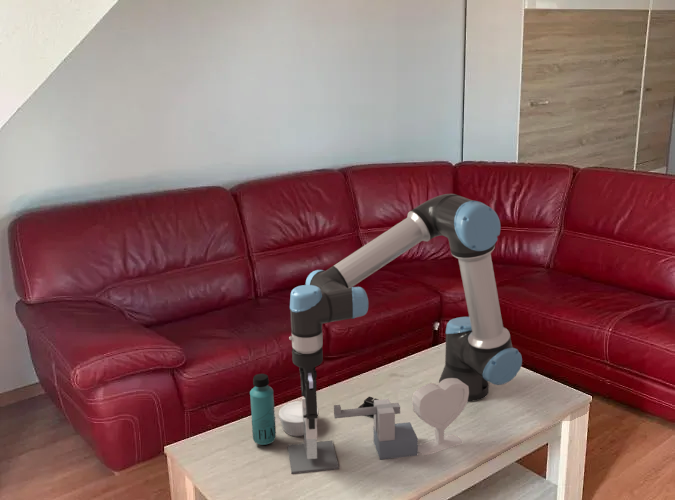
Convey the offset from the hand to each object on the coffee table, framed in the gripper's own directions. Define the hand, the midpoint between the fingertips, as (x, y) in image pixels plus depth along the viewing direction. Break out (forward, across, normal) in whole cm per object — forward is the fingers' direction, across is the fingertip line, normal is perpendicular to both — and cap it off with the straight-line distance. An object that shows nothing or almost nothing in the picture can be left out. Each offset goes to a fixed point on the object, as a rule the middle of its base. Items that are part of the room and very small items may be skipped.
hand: (309, 428), depth 172 cm
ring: (+6, 0, 0) cm, 6 cm away
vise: (+9, 0, +17) cm, 19 cm away
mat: (+9, 0, 0) cm, 9 cm away
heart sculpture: (+9, 0, +35) cm, 36 cm away
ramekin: (+9, -15, -2) cm, 18 cm away
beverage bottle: (+9, -9, -12) cm, 17 cm away
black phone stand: (+9, -19, +20) cm, 29 cm away
